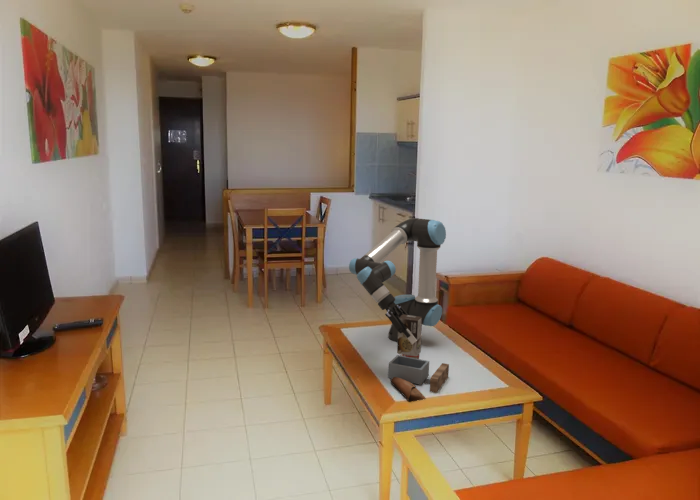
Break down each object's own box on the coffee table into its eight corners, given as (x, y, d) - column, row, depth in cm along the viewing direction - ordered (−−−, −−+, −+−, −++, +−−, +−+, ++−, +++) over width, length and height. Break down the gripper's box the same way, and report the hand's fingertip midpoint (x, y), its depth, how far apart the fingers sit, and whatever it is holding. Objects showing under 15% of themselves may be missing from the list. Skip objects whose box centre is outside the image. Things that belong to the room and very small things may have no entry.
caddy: (396, 369, 247) (397, 355, 246) (428, 375, 241) (429, 361, 239) (387, 377, 237) (388, 363, 236) (420, 384, 231) (421, 369, 230)
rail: (394, 372, 244) (394, 371, 244) (437, 381, 236) (437, 380, 236) (390, 376, 240) (390, 375, 240) (434, 385, 232) (434, 385, 231)
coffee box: (421, 352, 238) (423, 316, 235) (416, 357, 232) (418, 320, 229) (401, 348, 241) (403, 313, 239) (396, 353, 236) (398, 317, 233)
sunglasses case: (428, 399, 218) (421, 386, 216) (414, 409, 217) (406, 397, 215) (408, 381, 235) (401, 369, 233) (395, 390, 234) (388, 379, 231)
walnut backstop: (441, 375, 242) (442, 363, 241) (448, 377, 241) (448, 364, 239) (429, 391, 226) (430, 377, 225) (436, 392, 224) (437, 379, 223)
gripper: (385, 298, 248) (418, 338, 244) (369, 308, 231) (403, 351, 227) (397, 288, 245) (430, 328, 241) (381, 298, 228) (416, 341, 224)
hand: (417, 339), depth 234 cm, fingers closed on coffee box, 6 cm apart
